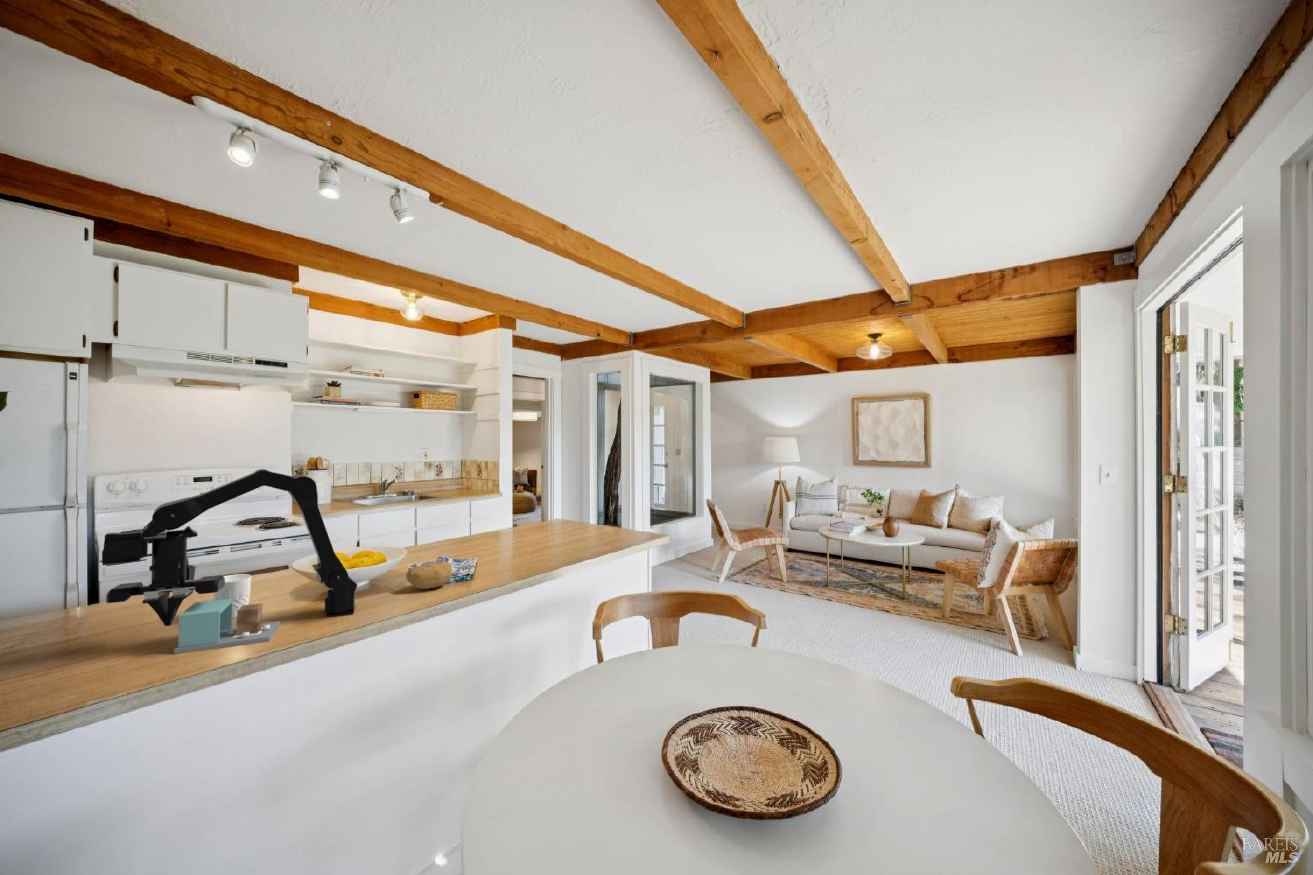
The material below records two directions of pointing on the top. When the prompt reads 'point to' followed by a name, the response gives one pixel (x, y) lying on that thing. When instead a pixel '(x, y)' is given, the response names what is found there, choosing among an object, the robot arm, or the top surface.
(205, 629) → the housing cover
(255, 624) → the block
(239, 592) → the white cup
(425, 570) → the potato
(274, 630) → the base plate
